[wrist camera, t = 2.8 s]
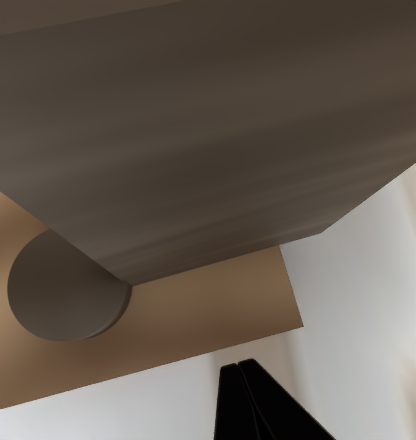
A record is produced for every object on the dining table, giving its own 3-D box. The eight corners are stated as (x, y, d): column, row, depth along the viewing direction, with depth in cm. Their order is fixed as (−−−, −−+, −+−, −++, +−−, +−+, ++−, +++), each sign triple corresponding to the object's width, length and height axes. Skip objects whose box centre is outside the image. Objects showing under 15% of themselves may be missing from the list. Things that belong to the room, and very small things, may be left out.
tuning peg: (333, 265, 17) (910, 7, 3) (38, 353, 15) (-1128, 531, 2) (266, 93, 19) (448, -463, 6) (5, 152, 18) (-594, -428, 4)
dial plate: (294, 326, 18) (303, 326, 16) (3, 406, 16) (-16, 413, 15) (224, 96, 21) (226, 78, 20) (-23, 143, 20) (-40, 128, 18)
